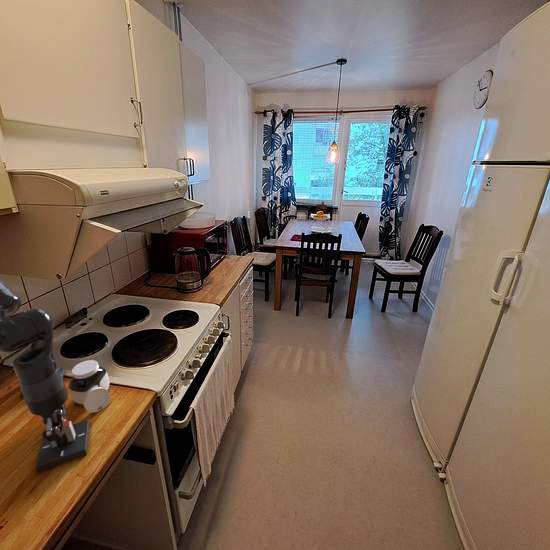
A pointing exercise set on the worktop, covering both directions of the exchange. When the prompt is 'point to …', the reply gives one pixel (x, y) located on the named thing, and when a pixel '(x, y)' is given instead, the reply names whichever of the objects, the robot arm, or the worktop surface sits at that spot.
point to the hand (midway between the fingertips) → (63, 439)
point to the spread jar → (90, 385)
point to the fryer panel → (64, 448)
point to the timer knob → (69, 433)
